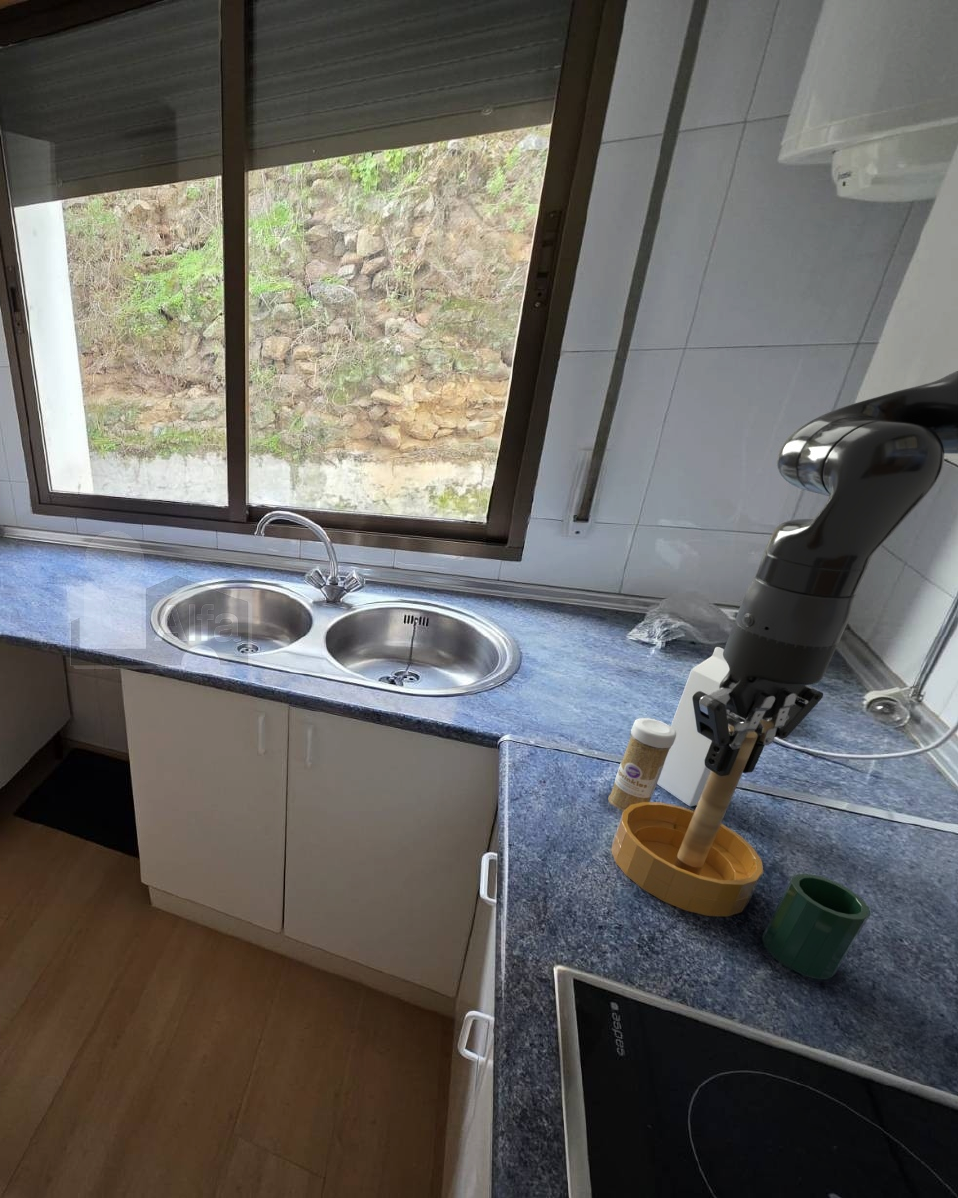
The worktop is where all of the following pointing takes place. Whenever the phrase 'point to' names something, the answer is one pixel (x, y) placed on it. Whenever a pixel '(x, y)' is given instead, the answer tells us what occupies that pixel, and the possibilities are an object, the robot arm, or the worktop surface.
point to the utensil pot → (815, 925)
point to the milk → (692, 735)
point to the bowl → (648, 861)
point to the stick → (712, 810)
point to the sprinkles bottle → (642, 762)
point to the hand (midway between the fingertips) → (727, 769)
